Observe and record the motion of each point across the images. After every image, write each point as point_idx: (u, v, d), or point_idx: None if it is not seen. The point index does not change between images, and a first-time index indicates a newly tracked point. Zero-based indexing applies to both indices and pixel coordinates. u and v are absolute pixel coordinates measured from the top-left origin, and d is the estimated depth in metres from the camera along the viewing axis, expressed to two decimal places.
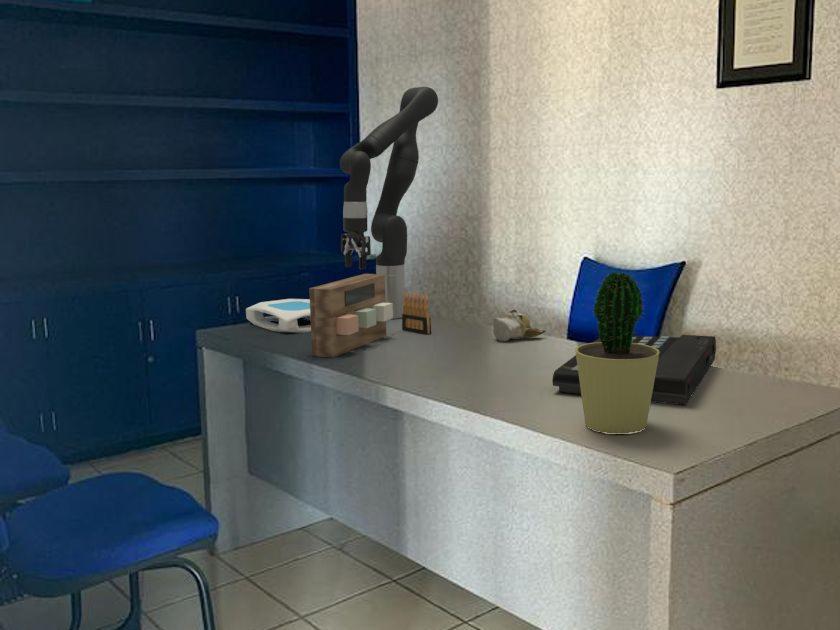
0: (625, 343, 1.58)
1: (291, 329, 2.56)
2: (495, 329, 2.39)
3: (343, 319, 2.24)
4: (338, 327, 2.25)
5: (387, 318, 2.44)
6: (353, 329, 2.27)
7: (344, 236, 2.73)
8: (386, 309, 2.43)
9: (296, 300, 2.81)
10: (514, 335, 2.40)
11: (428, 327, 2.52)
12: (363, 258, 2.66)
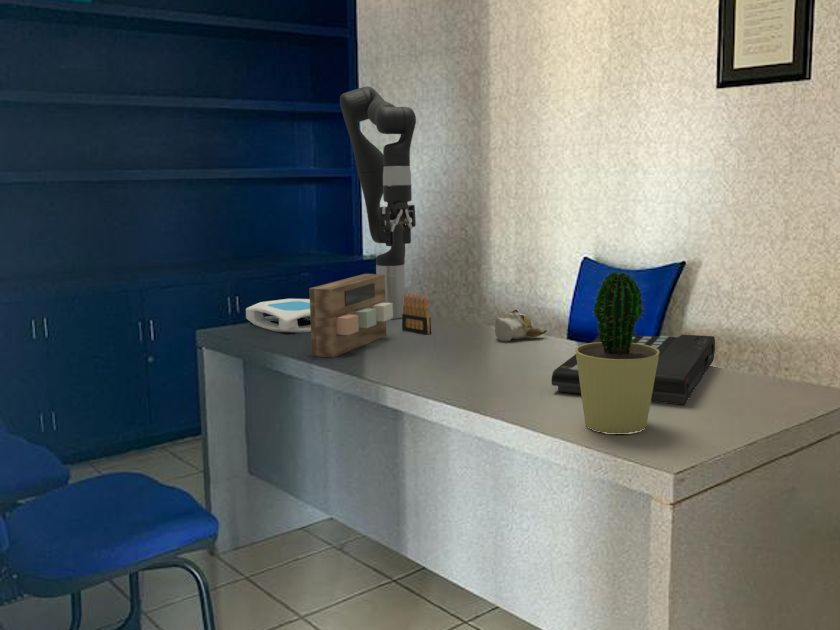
0: (625, 343, 1.58)
1: (291, 329, 2.56)
2: (497, 329, 2.39)
3: (343, 319, 2.24)
4: (338, 327, 2.25)
5: (387, 318, 2.44)
6: (353, 329, 2.27)
7: None
8: (386, 309, 2.43)
9: (296, 300, 2.81)
10: (516, 335, 2.40)
11: (428, 327, 2.52)
12: None
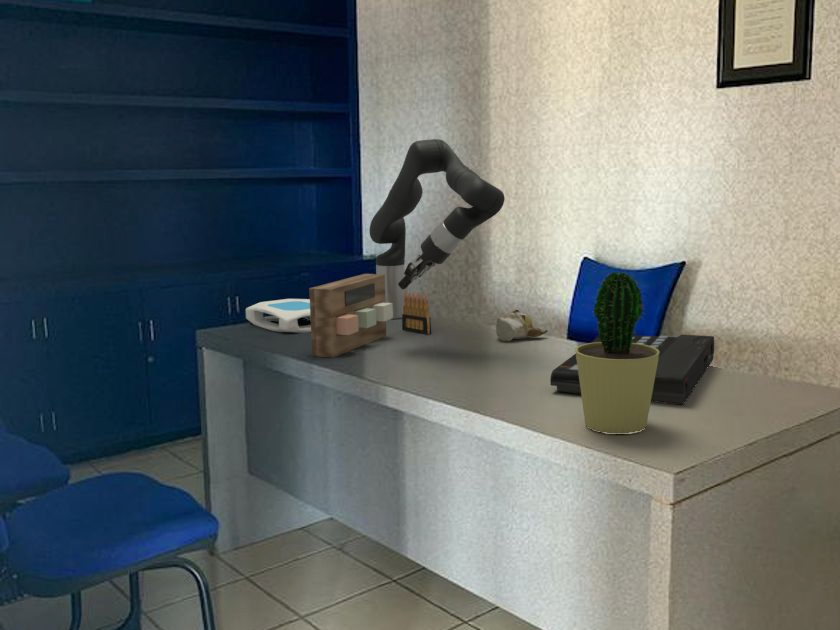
0: (625, 343, 1.58)
1: (291, 329, 2.56)
2: (498, 329, 2.39)
3: (343, 319, 2.24)
4: (338, 327, 2.25)
5: (387, 318, 2.44)
6: (353, 329, 2.27)
7: None
8: (386, 309, 2.43)
9: (296, 300, 2.81)
10: (517, 335, 2.40)
11: (428, 327, 2.52)
12: None
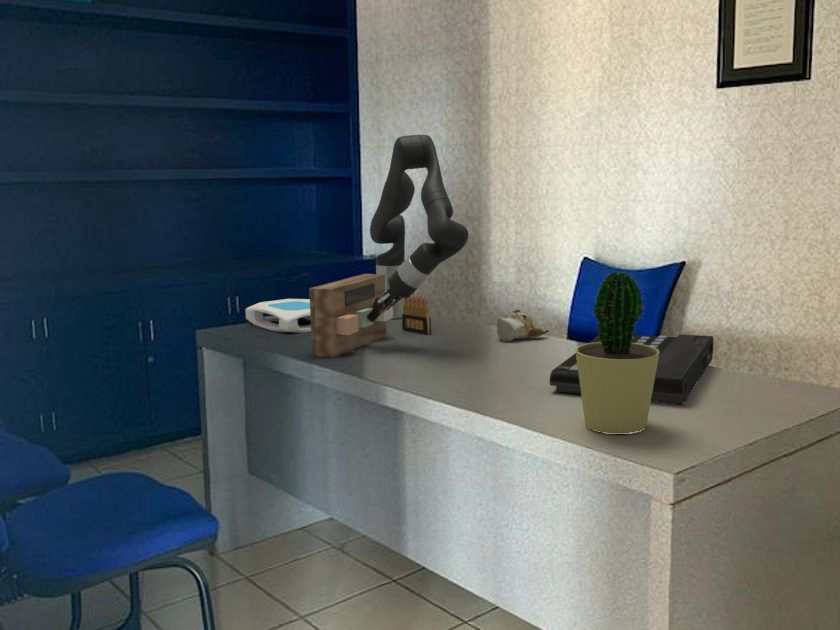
0: (625, 343, 1.58)
1: (291, 329, 2.56)
2: (499, 329, 2.39)
3: (343, 319, 2.24)
4: (338, 327, 2.25)
5: (387, 318, 2.44)
6: (353, 329, 2.27)
7: None
8: None
9: (296, 300, 2.81)
10: (518, 335, 2.40)
11: (428, 327, 2.52)
12: None
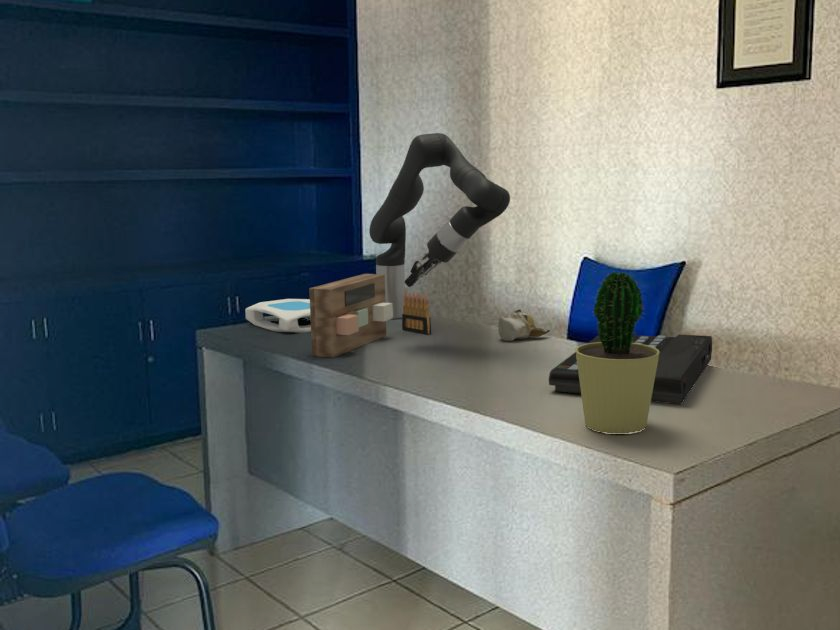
0: (625, 343, 1.58)
1: (292, 329, 2.56)
2: (500, 329, 2.39)
3: (343, 319, 2.24)
4: (338, 327, 2.25)
5: (387, 318, 2.44)
6: (353, 329, 2.27)
7: None
8: (386, 309, 2.43)
9: (295, 300, 2.81)
10: (519, 335, 2.40)
11: (428, 327, 2.52)
12: None
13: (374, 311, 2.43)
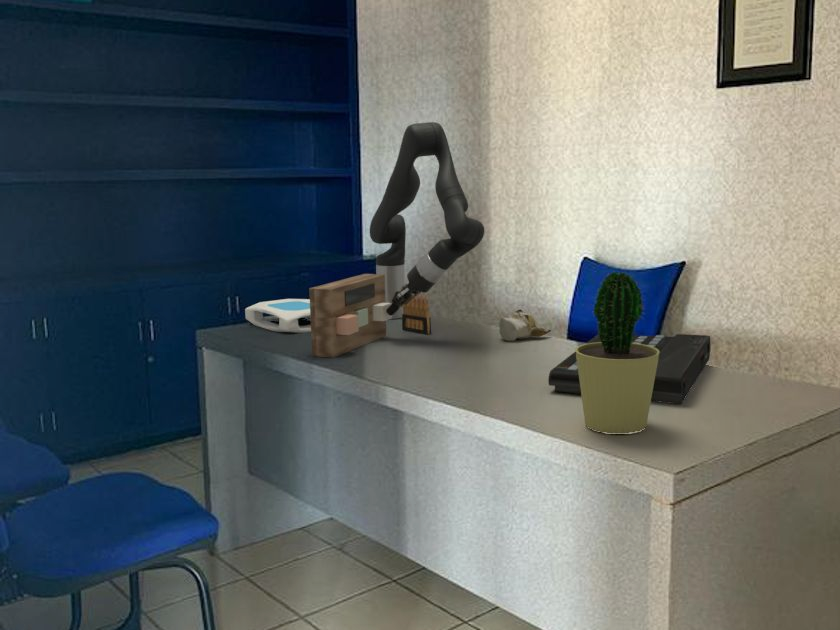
0: (625, 343, 1.58)
1: (292, 329, 2.56)
2: (502, 329, 2.39)
3: (343, 319, 2.24)
4: (338, 327, 2.25)
5: (386, 318, 2.44)
6: (353, 329, 2.27)
7: None
8: (385, 309, 2.43)
9: (295, 300, 2.81)
10: (521, 335, 2.40)
11: (428, 327, 2.52)
12: None
13: (373, 311, 2.43)
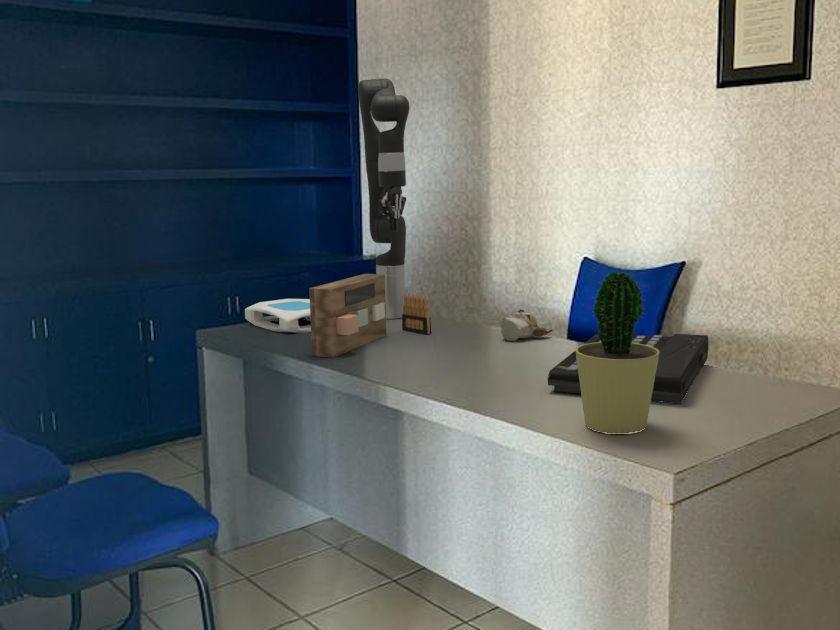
0: (625, 343, 1.58)
1: (292, 329, 2.56)
2: (504, 329, 2.39)
3: (343, 319, 2.24)
4: (338, 327, 2.25)
5: (379, 317, 2.45)
6: (353, 329, 2.27)
7: None
8: (378, 308, 2.44)
9: (295, 300, 2.81)
10: (522, 335, 2.40)
11: (428, 327, 2.52)
12: None
13: None
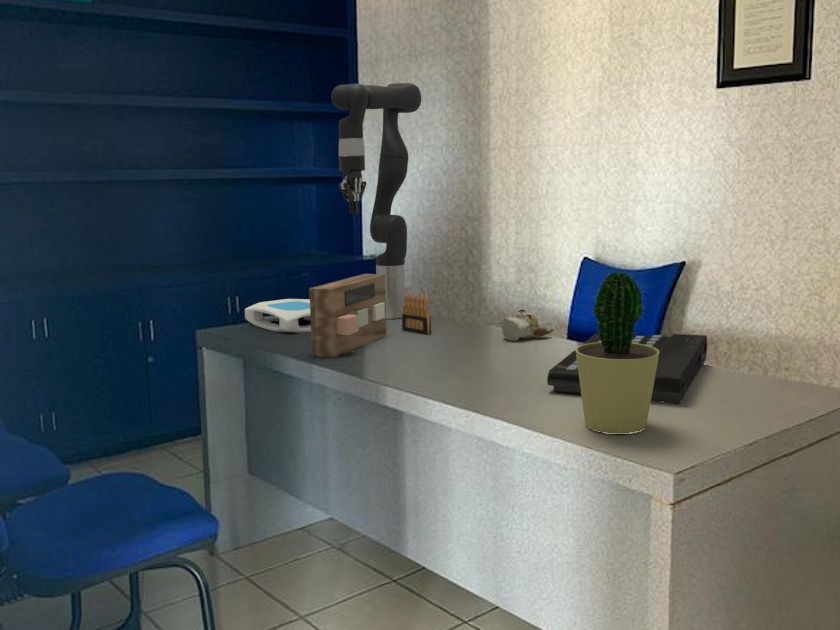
0: (625, 343, 1.58)
1: (292, 329, 2.56)
2: (505, 329, 2.39)
3: (343, 319, 2.24)
4: (338, 327, 2.25)
5: (379, 317, 2.45)
6: (353, 329, 2.27)
7: None
8: (378, 308, 2.44)
9: (295, 300, 2.81)
10: (523, 334, 2.40)
11: (428, 327, 2.52)
12: None
13: None
